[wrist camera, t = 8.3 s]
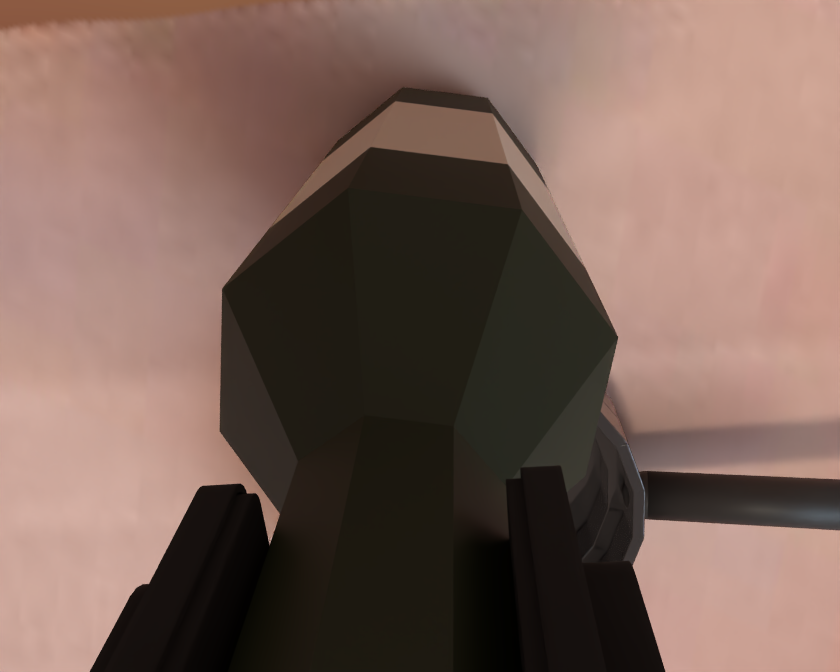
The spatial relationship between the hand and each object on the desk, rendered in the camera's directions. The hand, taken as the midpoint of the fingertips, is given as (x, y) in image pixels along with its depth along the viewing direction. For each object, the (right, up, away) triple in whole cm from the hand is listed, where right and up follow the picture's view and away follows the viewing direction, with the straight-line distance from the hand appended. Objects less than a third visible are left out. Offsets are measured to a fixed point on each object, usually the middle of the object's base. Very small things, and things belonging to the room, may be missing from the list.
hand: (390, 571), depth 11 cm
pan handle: (+14, -3, +23) cm, 28 cm away
